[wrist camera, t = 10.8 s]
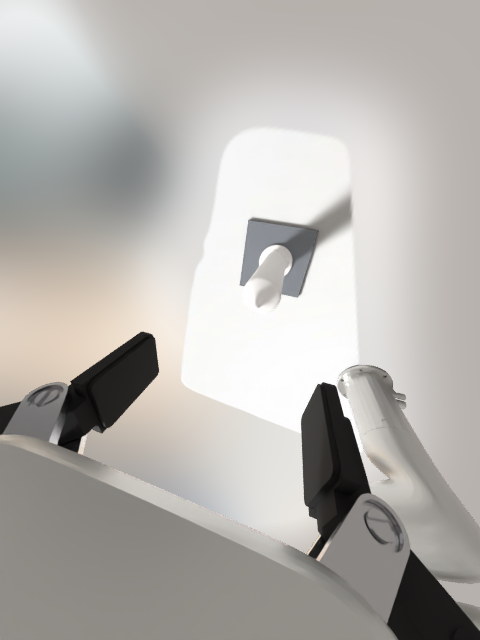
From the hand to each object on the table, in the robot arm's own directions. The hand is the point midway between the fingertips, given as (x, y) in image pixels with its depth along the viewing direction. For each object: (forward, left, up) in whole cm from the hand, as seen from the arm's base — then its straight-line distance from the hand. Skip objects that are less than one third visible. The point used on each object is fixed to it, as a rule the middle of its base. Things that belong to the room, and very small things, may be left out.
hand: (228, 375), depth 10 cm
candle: (0, 0, -35) cm, 35 cm away
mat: (0, 0, -35) cm, 35 cm away
